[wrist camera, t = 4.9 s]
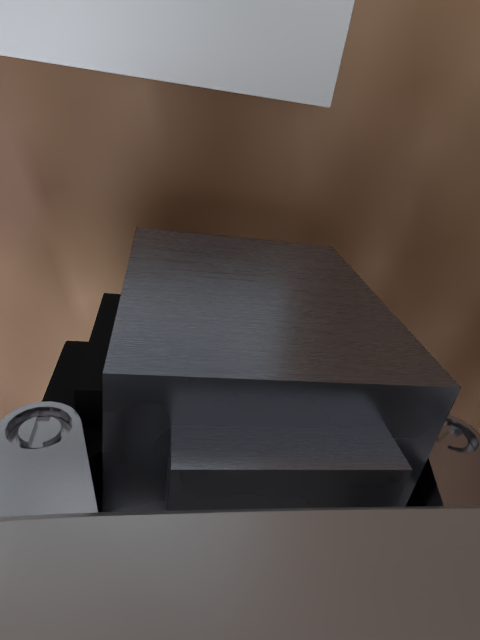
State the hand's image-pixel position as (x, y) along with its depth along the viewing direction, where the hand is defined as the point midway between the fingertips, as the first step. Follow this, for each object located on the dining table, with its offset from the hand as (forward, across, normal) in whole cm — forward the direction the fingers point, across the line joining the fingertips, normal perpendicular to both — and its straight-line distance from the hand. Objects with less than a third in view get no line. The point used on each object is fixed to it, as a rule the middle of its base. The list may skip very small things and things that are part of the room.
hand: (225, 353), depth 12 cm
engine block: (+1, 0, 0) cm, 1 cm away
